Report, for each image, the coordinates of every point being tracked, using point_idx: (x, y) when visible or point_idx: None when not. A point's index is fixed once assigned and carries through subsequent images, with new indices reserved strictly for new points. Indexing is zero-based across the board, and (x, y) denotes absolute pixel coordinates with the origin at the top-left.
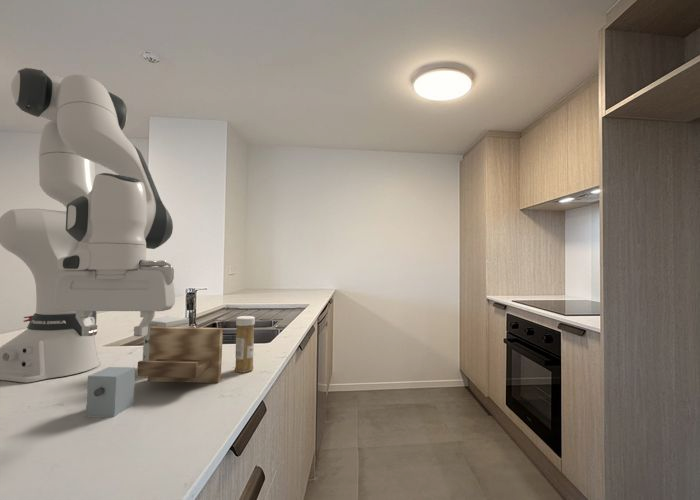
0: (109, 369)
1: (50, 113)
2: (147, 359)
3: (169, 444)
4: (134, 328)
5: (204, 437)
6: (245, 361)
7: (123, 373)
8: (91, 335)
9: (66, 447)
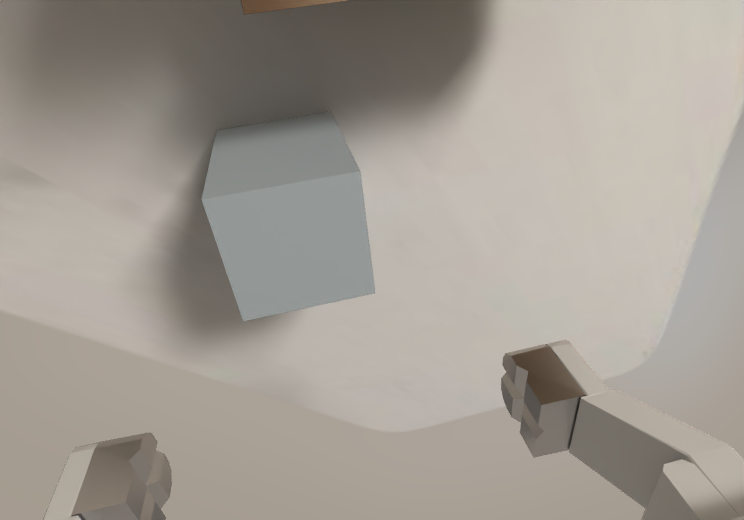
0: (250, 231)
1: None
2: None
3: (580, 282)
4: (530, 444)
5: (649, 240)
6: None
7: (370, 253)
8: (168, 463)
9: (362, 346)
